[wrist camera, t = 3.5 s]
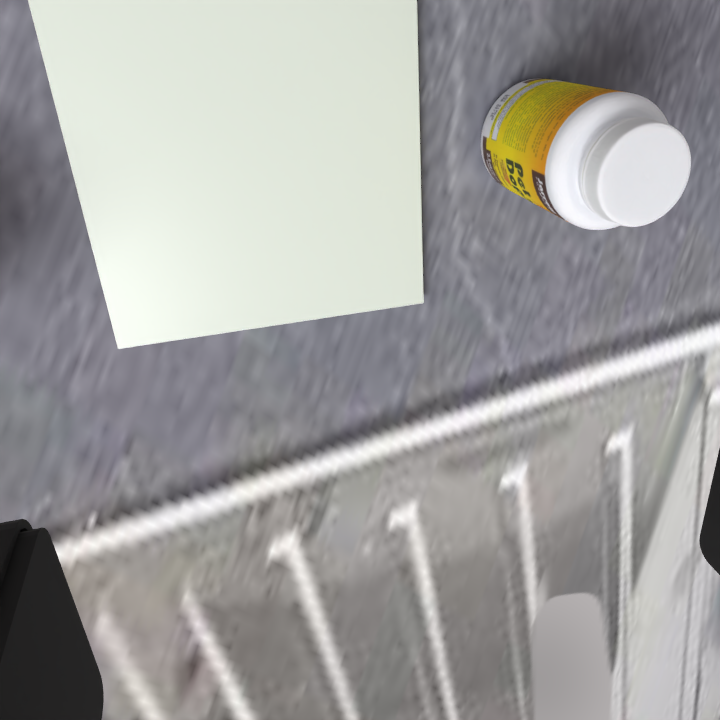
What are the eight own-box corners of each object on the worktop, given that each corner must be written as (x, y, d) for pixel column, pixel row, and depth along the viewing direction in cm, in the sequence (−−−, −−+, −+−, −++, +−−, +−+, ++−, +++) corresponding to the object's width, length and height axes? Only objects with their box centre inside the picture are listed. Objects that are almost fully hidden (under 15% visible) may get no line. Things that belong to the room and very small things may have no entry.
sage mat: (410, -39, 30) (416, -40, 29) (419, 297, 37) (423, 302, 36) (28, -15, 27) (23, -16, 26) (119, 342, 34) (118, 349, 34)
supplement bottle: (454, 148, 34) (549, 193, 25) (527, 52, 33) (655, 64, 24) (527, 211, 36) (638, 273, 27) (598, 124, 35) (737, 159, 26)
